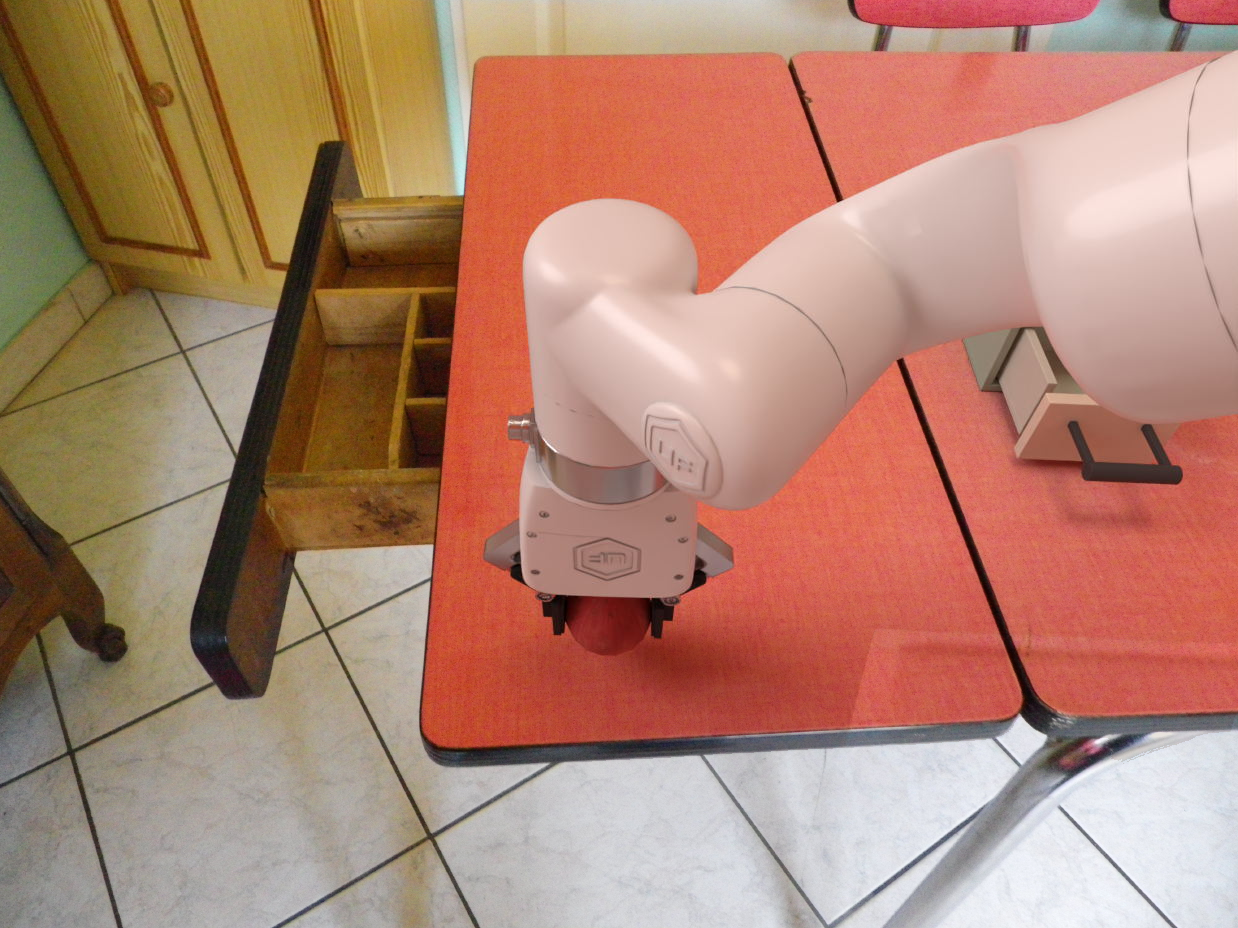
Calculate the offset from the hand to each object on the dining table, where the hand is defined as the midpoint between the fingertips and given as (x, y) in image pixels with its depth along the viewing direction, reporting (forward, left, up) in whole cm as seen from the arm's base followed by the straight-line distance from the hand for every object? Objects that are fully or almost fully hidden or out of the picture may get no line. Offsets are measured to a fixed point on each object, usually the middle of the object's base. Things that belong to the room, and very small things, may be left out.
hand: (608, 616), depth 58 cm
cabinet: (-12, -52, -4) cm, 53 cm away
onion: (0, 0, -3) cm, 3 cm away
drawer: (-20, -41, -3) cm, 46 cm away
